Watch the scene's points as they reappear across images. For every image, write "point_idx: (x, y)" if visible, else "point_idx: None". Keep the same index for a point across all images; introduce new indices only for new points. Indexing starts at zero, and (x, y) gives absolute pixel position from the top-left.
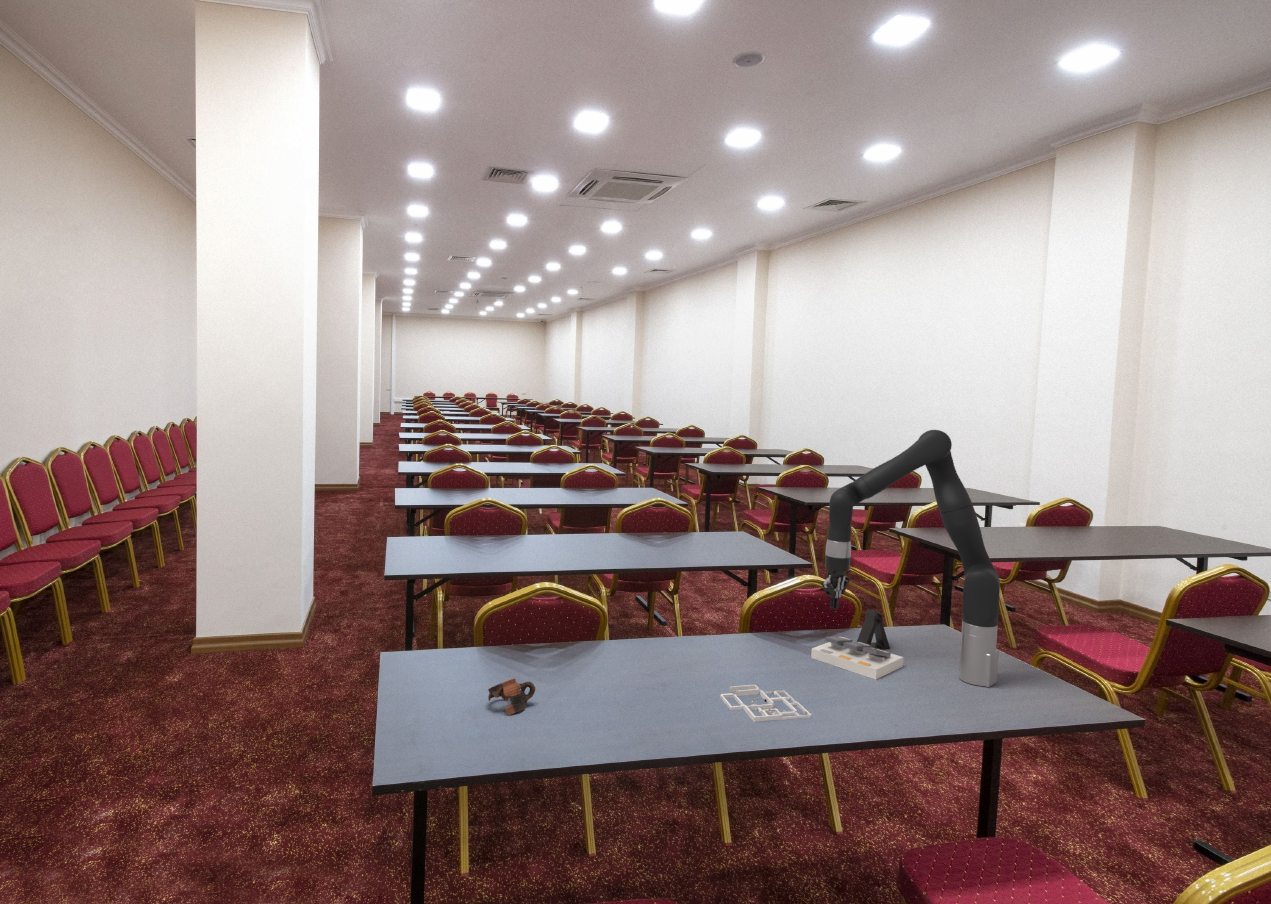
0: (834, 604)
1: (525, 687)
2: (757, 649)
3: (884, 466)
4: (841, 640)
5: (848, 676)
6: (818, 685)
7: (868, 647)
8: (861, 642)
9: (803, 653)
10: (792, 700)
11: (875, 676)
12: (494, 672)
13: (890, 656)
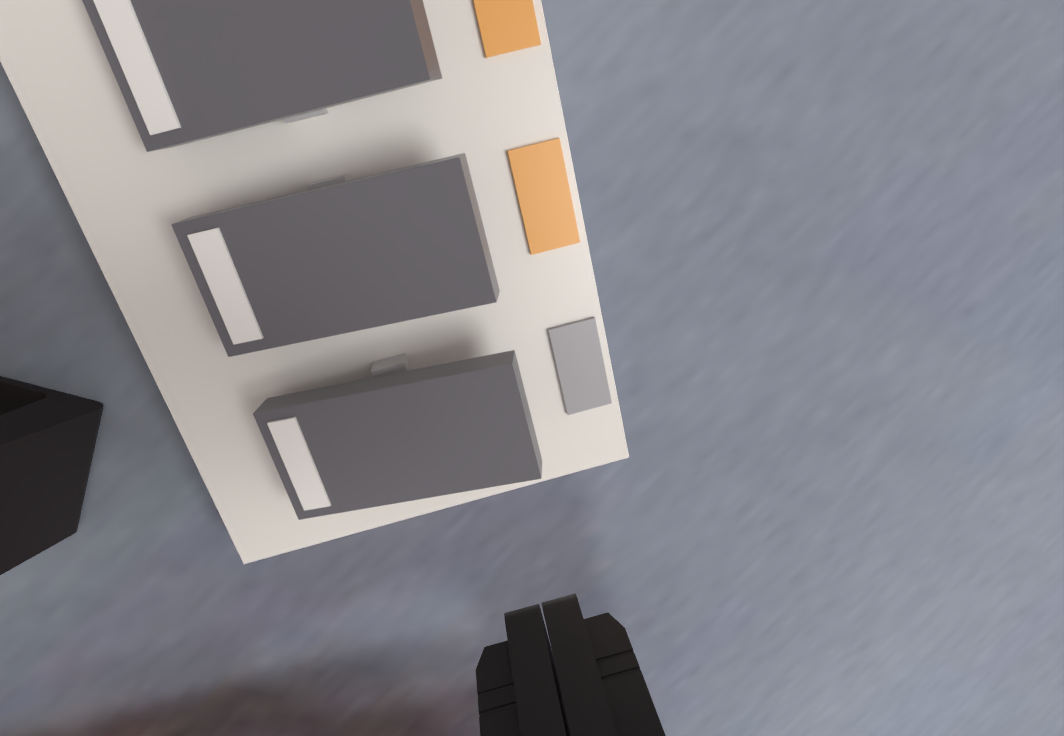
0: (619, 657)
1: None
2: (787, 634)
3: None
4: (440, 380)
5: (643, 28)
6: (961, 5)
7: (230, 208)
8: (62, 483)
9: (594, 504)
10: None
11: None
12: None
13: (80, 17)
